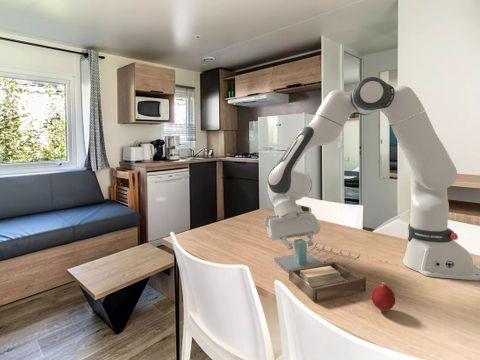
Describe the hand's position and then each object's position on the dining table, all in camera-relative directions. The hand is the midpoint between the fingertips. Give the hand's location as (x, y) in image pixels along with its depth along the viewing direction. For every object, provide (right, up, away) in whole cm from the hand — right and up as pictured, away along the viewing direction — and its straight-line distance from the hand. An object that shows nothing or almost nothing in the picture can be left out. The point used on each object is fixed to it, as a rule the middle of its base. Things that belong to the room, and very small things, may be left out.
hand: (301, 247), depth 108 cm
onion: (+16, -11, -28) cm, 34 cm away
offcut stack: (+4, -8, -10) cm, 14 cm away
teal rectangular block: (0, -6, +1) cm, 6 cm away
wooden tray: (+5, -9, -13) cm, 17 cm away
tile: (0, -7, +2) cm, 7 cm away
